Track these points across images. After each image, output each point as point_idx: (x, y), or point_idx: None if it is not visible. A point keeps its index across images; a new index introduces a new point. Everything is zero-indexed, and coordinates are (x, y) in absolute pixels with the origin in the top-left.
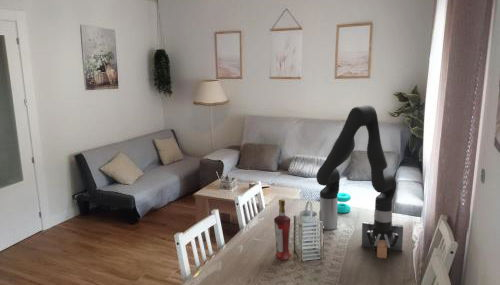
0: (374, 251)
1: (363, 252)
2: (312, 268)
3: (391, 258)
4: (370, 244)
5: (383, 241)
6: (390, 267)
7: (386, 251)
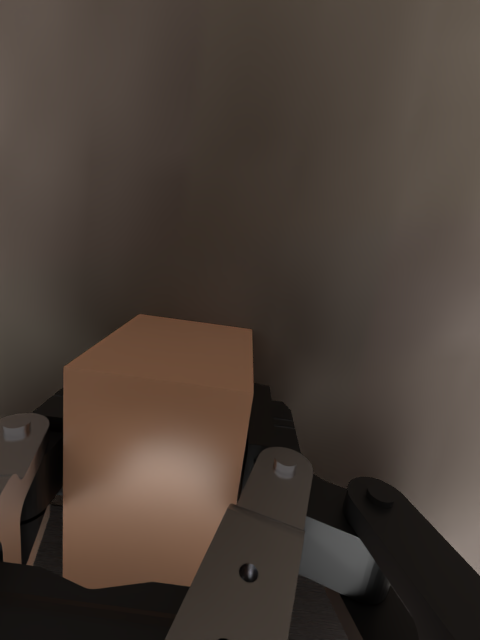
0: (280, 406)
1: (399, 425)
2: None
3: (79, 315)
4: (299, 574)
5: None
6: (106, 54)
7: (102, 345)
